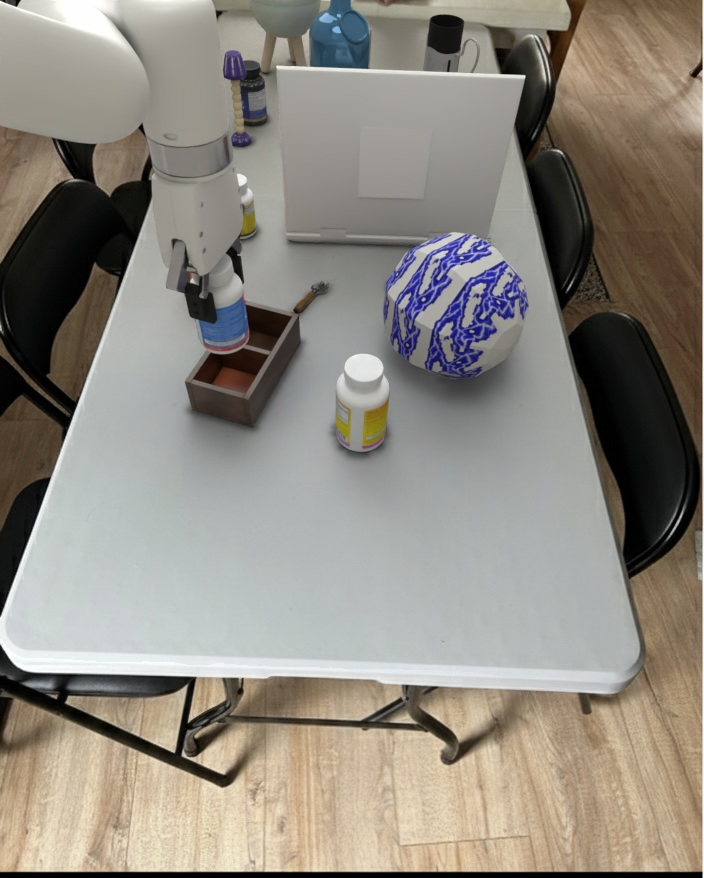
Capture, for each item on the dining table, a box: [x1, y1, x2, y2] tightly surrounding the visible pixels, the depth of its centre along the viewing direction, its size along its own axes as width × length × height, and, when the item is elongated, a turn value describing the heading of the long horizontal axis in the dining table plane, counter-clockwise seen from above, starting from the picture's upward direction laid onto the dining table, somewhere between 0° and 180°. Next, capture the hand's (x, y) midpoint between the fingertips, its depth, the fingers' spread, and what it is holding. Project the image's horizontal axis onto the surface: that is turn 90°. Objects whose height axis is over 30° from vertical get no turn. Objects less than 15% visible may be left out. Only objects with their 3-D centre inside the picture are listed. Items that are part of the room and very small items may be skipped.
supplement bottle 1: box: [237, 173, 257, 240], centre depth 106 cm, size 5×5×10 cm
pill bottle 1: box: [190, 253, 249, 354], centre depth 71 cm, size 6×6×11 cm
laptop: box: [275, 65, 526, 247], centre depth 105 cm, size 35×26×28 cm
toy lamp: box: [222, 49, 252, 147], centre depth 123 cm, size 5×5×17 cm
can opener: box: [292, 280, 330, 314], centre depth 99 cm, size 9×2×1 cm, turn 144°
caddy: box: [184, 300, 301, 428], centre depth 87 cm, size 9×17×6 cm, turn 161°
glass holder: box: [422, 13, 481, 73], centre depth 138 cm, size 9×14×15 cm, turn 43°
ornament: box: [382, 232, 529, 380], centre depth 86 cm, size 20×20×20 cm
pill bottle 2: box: [239, 59, 268, 126], centre depth 131 cm, size 6×6×11 cm
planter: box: [248, 0, 321, 74], centre depth 142 cm, size 16×16×22 cm
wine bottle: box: [308, 0, 372, 69], centre depth 129 cm, size 14×13×30 cm
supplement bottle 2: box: [335, 353, 391, 453], centre depth 78 cm, size 7×7×13 cm
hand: (217, 299), depth 71 cm, fingers closed on pill bottle 1, 6 cm apart
